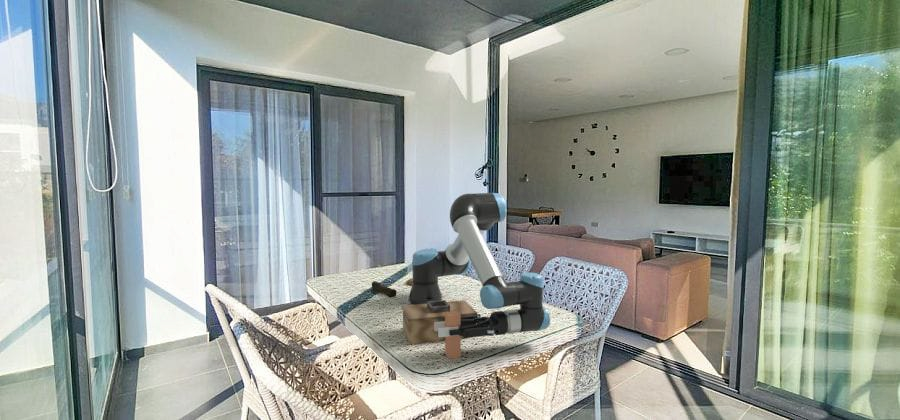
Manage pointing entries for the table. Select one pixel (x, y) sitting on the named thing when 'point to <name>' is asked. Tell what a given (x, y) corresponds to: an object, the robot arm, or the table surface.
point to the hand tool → (383, 289)
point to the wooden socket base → (430, 319)
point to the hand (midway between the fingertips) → (436, 329)
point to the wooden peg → (452, 341)
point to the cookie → (410, 282)
